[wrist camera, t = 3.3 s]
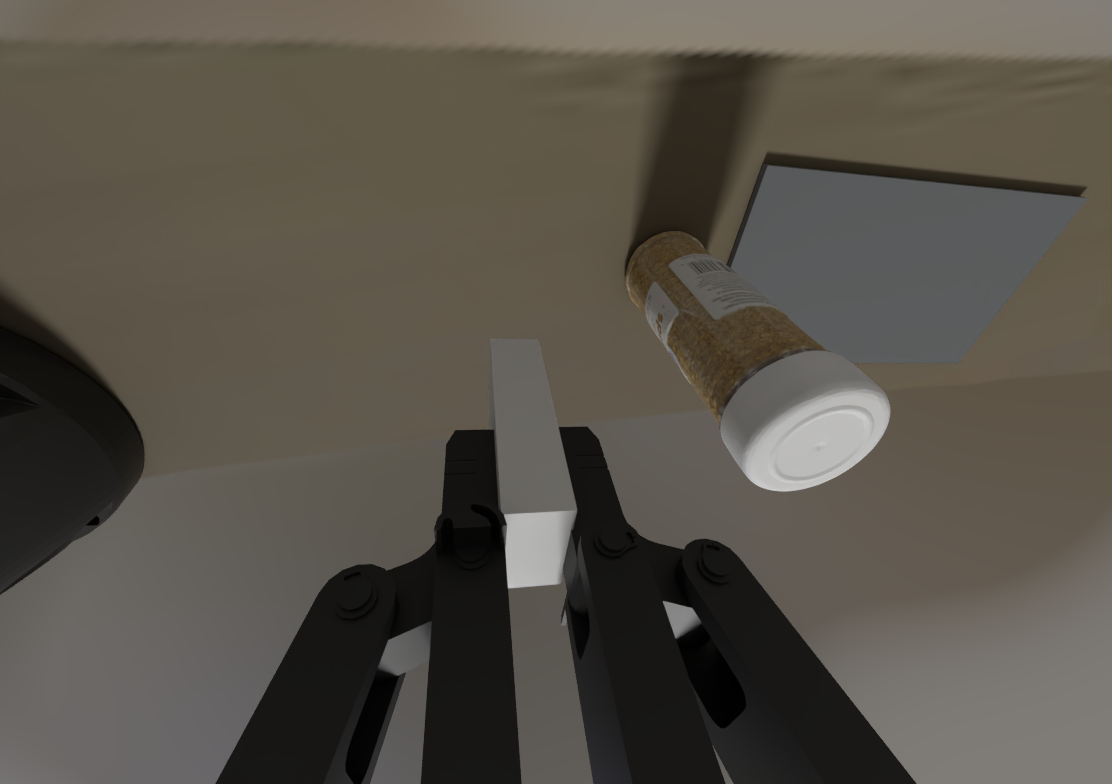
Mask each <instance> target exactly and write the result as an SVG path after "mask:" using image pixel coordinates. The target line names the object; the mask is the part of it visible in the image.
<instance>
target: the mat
mask: <svg viewBox="0 0 1112 784" xmlns="http://www.w3.org/2000/svg"><path fill="white" fill-rule="evenodd" d="M1087 199H1088V198H1085V197H1081V196H1072V195H1062V194H1052V193H1042V192H1033V191H1023V190H1013V189H1004V188H994V187H984V186H975V185H965V184H955V183H946V182H936V181H926V180H916V179H907V178H897V177H887V176H878V175H868V174H858V173H849V172H839V171H829V170H820V169H810V168H800V167H790V166H781V165H771V164H763V166H762V169H761V171H760V174H759V177H758V180H757V183H756V185H755V188H754V191H753V194H752V197H751V199H750V202H749V205H748V208H747V211H746V214H745V216H744V219H743V222H742V225H741V228H740V230H739V233H738V236H737V239H736V242H735V245H734V247H733V250H732V253H731V256H730V259H729V261H728V264H727V266H728V267H730V268H731V269H732V270H733V271H734V272H736V273H737V274H738V275H739V276H741V277H742V278H743V279H744V280H745V281H747V282H748V283H749V284H750V285H751V286H753V287H754V288H755V289H756V290H757V291H759V292H760V293H761V294H762V295H764V296H765V297H766V298H767V299H768V300H770V301H771V302H772V303H773V304H775V305H776V306H777V307H778V308H780V309H781V310H782V311H783V312H785V314H786V315H787V316H788V317H789V319H790V320H791V321H792V322H793V323H794V324H796V325H797V326H798V327H799V328H800V329H801V330H802V331H804V332H805V333H806V334H807V335H808V336H809V337H811V338H812V339H813V340H815V341H816V342H817V343H818V344H820V345H821V346H822V347H823V348H824V349H825V350H828V351H831V352H833V353H836V354H839V355H841V356H843V357H844V358H846V359H847V360H848V361H850V362H862V363H959V361H960V360H961V359H962V357H963V356H964V355H965V354H966V352H967V351H968V350H969V349H970V347H971V346H972V345H973V344H974V342H975V341H976V340H977V338H978V337H979V336H980V335H981V333H982V332H983V331H984V330H985V328H986V327H987V326H988V325H989V323H990V322H991V321H992V320H993V318H994V317H995V316H996V314H997V313H998V312H999V311H1000V309H1001V308H1002V307H1003V306H1004V304H1005V303H1006V302H1007V301H1008V299H1009V298H1010V297H1011V296H1012V294H1013V293H1014V292H1015V290H1016V289H1017V288H1018V287H1019V285H1020V284H1021V283H1022V282H1023V280H1024V279H1025V278H1026V277H1027V275H1028V274H1029V273H1030V271H1031V270H1032V269H1033V268H1034V266H1035V265H1036V264H1037V263H1038V261H1039V260H1040V259H1041V258H1042V256H1043V255H1044V254H1045V253H1046V251H1047V250H1048V249H1049V247H1050V246H1051V245H1052V244H1053V242H1054V241H1055V240H1056V239H1057V237H1058V236H1059V235H1060V234H1061V232H1062V231H1063V230H1064V229H1065V227H1066V226H1067V225H1068V223H1069V222H1070V221H1071V220H1072V218H1073V217H1074V216H1075V215H1076V213H1077V212H1078V211H1079V210H1080V208H1081V207H1082V206H1083V205H1084V203H1085V202H1086V201H1087Z"/></svg>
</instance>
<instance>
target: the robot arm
mask: <svg viewBox="0 0 1112 784" xmlns="http://www.w3.org/2000/svg"><path fill="white" fill-rule="evenodd" d="M489 424H490V430H455V432H454V433H453V435H452V436H451V438H450V440H449V441H448V443H447V444H446V457H445V472H444V488H443V503H442V513H441V515H440V516H439V517H438V518H437V522H436V525H435V528H434V536H435V543H434V545H433V546H432V547H431V548H430V549H429V550H428V551H427V552H426V553H425V554H423V555H422V556H421V557H419V558H417V559H415V560H413V561H411V562H409V563H407V564H404V565H401V566H398V567H396V568H393V569H391V570H388V571H386V570H385V569H384V568H381V567H378V566H375V565H373V564H368V565H367V564H366V565H356V566H353V567H350V568H347V569H345V570H342V571H341V572H339V573H338V574H337V575H335V576H334V577H332V578H331V579H330V580H329V581H328V582H327V583H326V584H325V586H324V587H323V588H322V590H321V591H320V592H319V594H318V596H317V597H316V599H315V601H314V603H313V605H312V607H311V608H310V611H309V612H308V614H307V616H306V618H305V619H304V621H303V623H302V625H301V627H300V629H299V631H298V632H297V634H296V636H295V638H294V640H293V642H292V644H291V645H290V647H289V649H288V651H287V653H286V655H285V657H284V658H283V660H282V662H281V664H280V666H279V667H278V669H277V671H276V673H275V675H274V677H273V679H272V680H271V682H270V684H269V686H268V688H267V690H266V692H265V693H264V695H263V697H262V699H261V701H260V702H259V704H258V706H257V708H256V710H255V712H254V714H253V716H252V717H251V719H250V721H249V723H248V725H247V726H246V729H245V730H244V732H243V734H242V736H241V738H240V740H239V741H238V743H237V745H236V747H235V749H234V751H233V753H232V754H231V756H230V758H229V760H228V762H227V763H226V765H225V767H224V769H223V771H222V773H221V774H220V776H219V778H218V780H217V782H216V784H370V781H371V778H372V775H373V772H374V769H375V766H376V763H377V760H378V757H379V754H380V751H381V747H382V745H383V741H384V738H385V735H386V732H387V729H388V726H389V723H390V720H391V717H392V714H393V711H394V708H395V704H396V701H397V699H398V696H399V692H400V689H401V686H402V683H403V680H404V677H405V674H406V672H407V671H409V670H411V669H413V668H415V667H417V666H419V665H421V664H423V663H425V662H428V661H429V672H428V686H427V687H428V688H427V701H426V716H425V731H424V746H423V760H422V776H421V784H521V770H520V755H519V741H518V728H517V713H516V699H515V683H514V669H513V655H512V640H511V627H510V611H509V596H508V588H518V587H530V586H540V585H553V584H561V583H562V578H563V574H564V577H565V583H566V588H567V594H566V599H565V603H564V607H563V611H562V615H561V626H563V625H566V622H567V624H568V630H569V636H570V643H571V649H572V654H573V661H574V667H575V673H576V679H577V685H578V691H579V698H580V704H581V710H582V716H583V722H584V728H585V734H586V741H587V747H588V752H589V758H590V765H591V771H592V777H593V783H594V784H725V781H724V778H723V775H722V772H721V770H720V766H719V764H718V761H717V758H716V755H715V752H714V749H713V746H714V748H715V750H716V752H717V754H718V756H719V757H720V759H721V761H722V763H723V765H724V767H725V769H726V770H727V772H728V774H729V776H730V778H731V780H732V781H733V783H734V784H916V782H915V781H914V780H913V779H912V777H911V776H910V775H909V774H908V772H907V771H906V770H905V769H904V767H903V766H902V765H901V763H900V762H899V761H898V760H897V758H896V757H895V756H894V754H893V753H892V752H891V751H890V749H889V748H888V747H887V746H886V744H885V743H884V742H883V740H882V739H881V738H880V737H879V735H878V734H877V733H876V731H875V730H874V729H873V728H872V726H871V725H870V724H869V723H868V721H867V720H866V719H865V717H864V716H863V715H862V714H861V712H860V711H859V710H858V709H857V707H856V706H855V705H854V703H853V702H852V701H851V700H850V698H849V697H848V696H847V694H846V693H845V692H844V691H843V690H842V688H841V687H840V686H839V684H838V683H837V682H836V680H835V679H834V678H833V677H832V675H831V674H830V673H829V672H828V670H827V669H826V668H825V667H824V665H823V664H822V663H821V661H820V660H819V659H818V658H817V657H816V655H815V654H814V652H813V651H812V650H811V649H810V647H809V646H808V645H807V644H806V642H805V641H804V640H803V639H802V637H801V636H800V635H799V633H798V632H797V631H796V630H795V628H794V627H793V626H792V625H791V623H790V622H789V621H788V619H787V618H786V617H785V615H784V614H783V613H782V612H781V610H780V609H779V608H778V606H777V605H776V604H775V603H774V601H773V600H772V599H771V598H770V596H769V595H768V594H767V593H766V591H765V590H764V589H763V587H762V586H761V585H760V584H759V582H758V581H757V580H756V578H755V577H754V576H753V575H752V573H751V572H750V571H749V570H748V569H747V567H746V566H745V564H744V563H743V562H742V561H741V560H740V558H739V557H738V556H737V555H736V554H735V553H734V552H733V551H732V550H731V549H730V548H728V547H726V546H724V545H723V544H721V543H719V542H717V541H713V540H709V539H698V540H694V541H692V542H690V543H689V544H687V545H686V547H685V549H684V550H683V549H678V548H675V547H671V546H666V545H662V544H658V543H655V542H652V541H649V540H647V539H645V538H643V537H642V536H640V535H639V534H638V533H637V531H636V530H635V529H634V528H633V527H631V526H630V525H629V524H628V523H627V522H626V519H625V518H624V515H623V513H622V510H621V506H620V503H619V500H618V497H617V494H616V491H615V488H614V485H613V482H612V479H611V475H610V473H609V470H608V468H607V463H606V460H605V458H604V454H603V451H602V448H601V445H600V442H599V439H598V438H597V437H596V436H595V435H594V434H593V433H592V431H591V430H590V429H589V428H588V427H558V423H557V419H556V414H555V410H554V406H553V401H552V397H551V393H550V388H549V384H548V379H547V375H546V371H545V366H544V362H543V358H542V353H541V349H540V344H539V340H533V339H490V374H489ZM143 468H144V451H143V446H142V443H141V440H140V437H139V435H138V433H137V431H136V429H135V427H134V425H133V424H132V422H131V421H130V419H129V418H128V416H127V415H126V414H125V412H124V411H123V410H122V409H121V408H120V406H119V405H118V404H117V403H116V402H115V401H114V400H113V399H112V398H111V397H110V396H109V395H108V394H107V393H106V392H105V391H104V390H102V389H101V388H100V387H99V386H98V385H97V384H96V383H94V382H93V381H92V380H90V379H89V378H88V377H87V376H85V375H84V374H83V373H81V372H80V371H78V370H77V369H75V368H74V367H73V366H71V365H69V364H68V363H66V362H65V361H63V360H62V359H60V358H58V357H57V356H55V355H53V354H52V353H50V352H48V351H46V350H45V349H43V348H41V347H39V346H37V345H35V344H33V343H31V342H29V341H27V340H25V339H23V338H21V337H19V336H17V335H15V334H12V333H10V332H8V331H6V330H3V329H1V328H0V595H1V594H2V593H4V592H5V591H7V590H8V589H10V588H11V587H12V586H14V585H15V584H17V583H18V582H20V581H21V580H23V579H24V578H25V577H27V576H28V575H30V574H31V573H32V572H34V571H35V570H37V569H38V568H39V567H41V566H42V565H44V564H45V563H46V562H48V561H49V560H50V559H52V558H53V557H54V556H56V555H57V554H58V553H60V552H61V551H62V550H63V549H65V548H66V547H67V546H68V545H69V544H70V543H72V542H73V541H74V540H77V539H79V538H81V537H83V536H84V535H87V534H88V533H90V532H91V531H93V530H94V529H96V528H97V527H99V526H100V525H101V524H103V523H104V522H105V521H106V520H107V519H108V518H109V517H110V516H111V515H112V514H113V513H114V512H115V511H116V510H117V509H118V507H119V506H120V505H121V503H122V502H123V501H124V500H125V498H126V497H127V496H128V494H129V493H130V492H131V490H132V489H133V488H134V487H135V485H136V484H137V483H138V481H139V479H140V477H141V475H142V472H143ZM712 745H713V746H712Z"/></svg>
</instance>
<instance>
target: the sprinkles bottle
mask: <svg viewBox="0 0 1112 784" xmlns="http://www.w3.org/2000/svg"><path fill="white" fill-rule="evenodd" d="M625 276H626V279H625V284H626V289H627V292H628V294H629V297H630V299H631V300H632V302H634V303H635V304H636V306H638V307H639V308H640V309H641V311H642V312H643V314H644V315H645V317H646V318H647V320H648V322H649V324H650V326H651V327H652V329H653V331H654V332H655V333H656V335H657V336H658V338H659V339H660V340H661V342H662V343H663V345H664V346H665V347H666V349H667V350H668V352H669V353H670V355H671V356H672V358H673V359H674V361H675V362H676V364H677V365H678V367H679V368H680V370H681V371H682V373H683V374H684V376H685V377H686V379H687V380H688V381H689V382H690V383H691V384H692V385H693V386H694V388H695V389H696V391H697V393H698V394H699V396H700V397H701V399H702V400H703V401H704V403H705V404H706V406H707V408H708V409H709V410H710V411H711V413H712V414H713V417H714V418H715V420H716V421H717V422H718V423H719V429H720V430H721V436H722V440H723V442H724V444H725V445H726V447H727V448H728V450H729V451H730V453H731V454H732V456H733V458H734V459H735V461H736V462H737V463H738V465H739V466H740V468H741V469H742V471H743V472H744V473H745V475H746V476H747V477H748V478H749V480H750V481H752V482H753V483H754V484H756V485H757V486H759V487H762V488H765V489H768V490H773V491H794V490H800V489H805V488H809V487H812V486H815V485H819V484H821V483H824V482H826V481H828V480H830V479H832V478H834V477H836V476H838V475H840V474H842V473H843V472H845V471H847V470H848V469H849V468H851V467H852V466H854V465H855V464H856V463H858V462H859V461H860V460H861V459H863V458H864V457H865V456H866V455H867V454H868V453H869V452H870V451H871V450H872V449H873V448H874V446H875V445H876V444H877V443H878V441H879V440H880V438H881V437H882V435H883V434H884V432H885V430H886V427H887V425H888V422H889V418H890V404H889V401H888V398H887V396H886V394H885V393H884V391H883V390H882V389H881V388H880V387H879V386H878V385H876V384H875V383H874V382H873V381H872V380H871V379H870V378H869V377H868V376H866V375H865V374H864V373H863V372H862V371H861V370H859V369H858V368H857V367H856V366H855V365H853V364H852V363H851V362H850V361H848V360H847V359H846V358H844V357H843V356H841V355H839V354H836V353H833V352H831V351H828V350H825V349H824V348H823V347H822V346H821V345H820V344H818V343H817V342H816V341H815V340H813V339H812V338H811V337H809V336H808V335H807V334H806V333H805V332H804V331H802V330H801V329H800V328H799V327H798V326H797V325H796V324H794V323H793V322H792V321H791V320H790V319H789V317H788V316H787V315H786V314H785V312H783V311H782V310H781V309H780V308H778V307H777V306H776V305H775V304H773V303H772V302H771V301H770V300H768V299H767V298H766V297H765V296H764V295H762V294H761V293H760V292H759V291H757V290H756V289H755V288H754V287H753V286H751V285H750V284H749V283H748V282H747V281H745V280H744V279H743V278H742V277H741V276H739V275H738V274H737V273H736V272H734V271H733V270H732V269H731V268H730V267H728V266H727V265H726V264H725V263H723V262H722V261H721V260H719V259H718V258H716V257H714V256H712V255H711V254H710V253H709V252H707V251H706V250H705V248H704V246H703V245H702V244H701V242H700V241H699V240H698V239H697V238H695V237H693V236H692V235H690V234H687V233H684V232H682V231H667V232H663V233H660V234H657V235H655V236H653V237H651V238H650V239H648V240H647V241H645V242H644V243H643V244H642V245H640V246H639V247H638V248H637V249H636V251H635V252H634V254H633V255H632V257H631V259H630V261H629V263H628V268H627V271H626V275H625Z"/></svg>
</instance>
